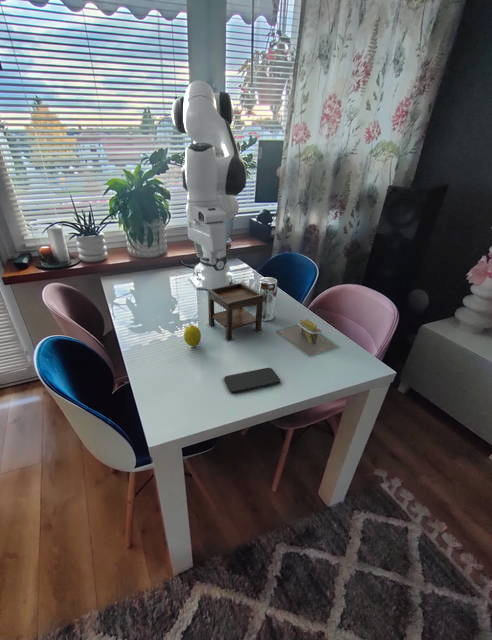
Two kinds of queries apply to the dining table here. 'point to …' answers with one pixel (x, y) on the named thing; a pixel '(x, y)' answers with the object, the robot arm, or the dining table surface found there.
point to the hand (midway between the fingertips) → (206, 260)
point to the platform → (307, 338)
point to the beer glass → (268, 296)
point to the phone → (251, 380)
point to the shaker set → (254, 286)
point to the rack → (235, 307)
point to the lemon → (192, 335)
